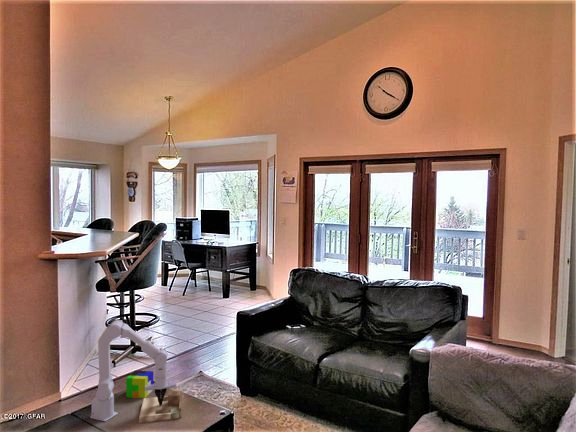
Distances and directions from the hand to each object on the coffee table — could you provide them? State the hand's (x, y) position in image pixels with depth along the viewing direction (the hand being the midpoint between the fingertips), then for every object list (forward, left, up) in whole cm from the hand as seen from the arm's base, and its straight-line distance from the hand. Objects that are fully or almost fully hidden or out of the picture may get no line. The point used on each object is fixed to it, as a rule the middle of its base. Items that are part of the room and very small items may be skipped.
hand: (160, 404), depth 194 cm
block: (+5, +3, -1) cm, 6 cm away
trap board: (0, 0, -3) cm, 3 cm away
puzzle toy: (-22, +11, -3) cm, 25 cm away
